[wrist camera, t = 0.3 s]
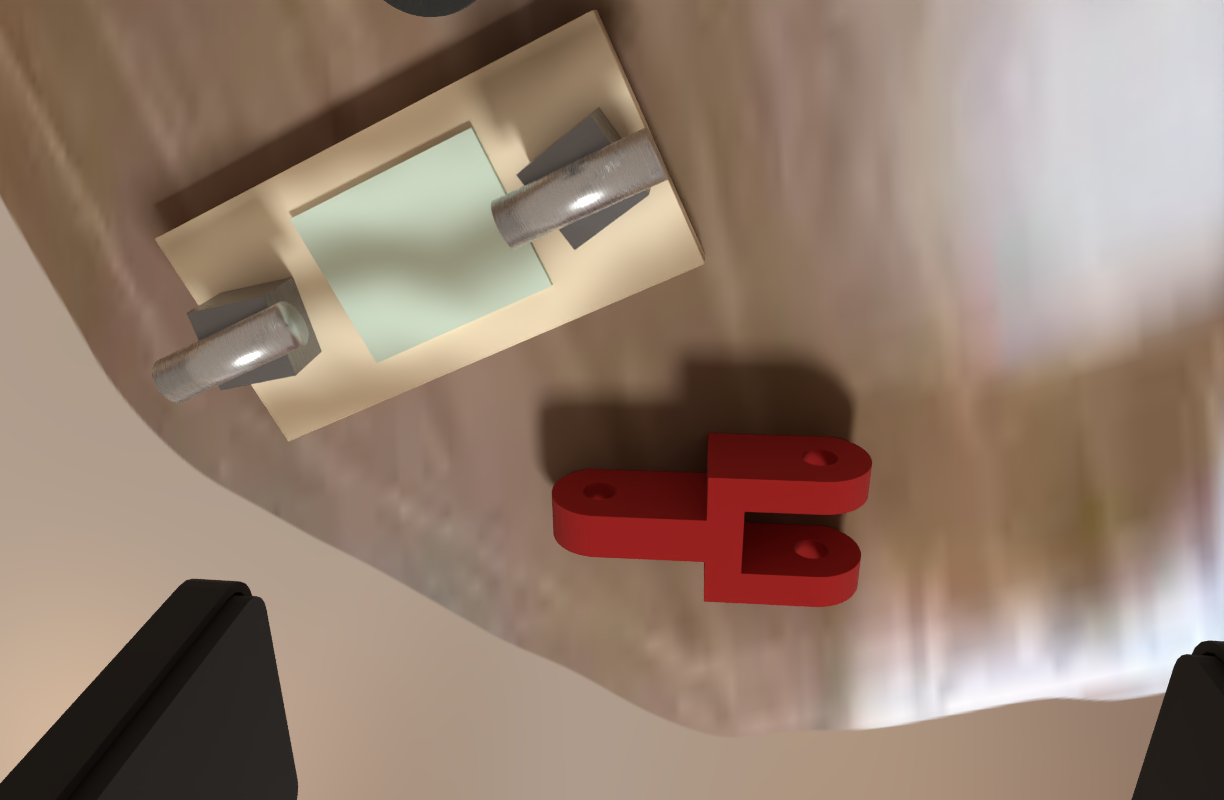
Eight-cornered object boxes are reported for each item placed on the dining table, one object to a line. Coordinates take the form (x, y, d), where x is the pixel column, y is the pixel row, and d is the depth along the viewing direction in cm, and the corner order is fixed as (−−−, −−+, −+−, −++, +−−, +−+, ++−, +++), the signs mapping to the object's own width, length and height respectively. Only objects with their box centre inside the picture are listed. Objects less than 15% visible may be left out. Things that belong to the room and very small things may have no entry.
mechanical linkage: (863, 436, 47) (880, 483, 42) (850, 552, 50) (864, 609, 45) (558, 426, 48) (542, 471, 44) (562, 540, 51) (548, 593, 46)
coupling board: (171, 231, 46) (151, 240, 44) (596, 9, 39) (591, 10, 38) (300, 429, 49) (286, 443, 48) (704, 255, 43) (704, 265, 42)
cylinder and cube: (189, 307, 45) (127, 345, 41) (639, 86, 39) (629, 99, 34) (242, 387, 47) (188, 432, 42) (683, 187, 41) (680, 213, 36)
